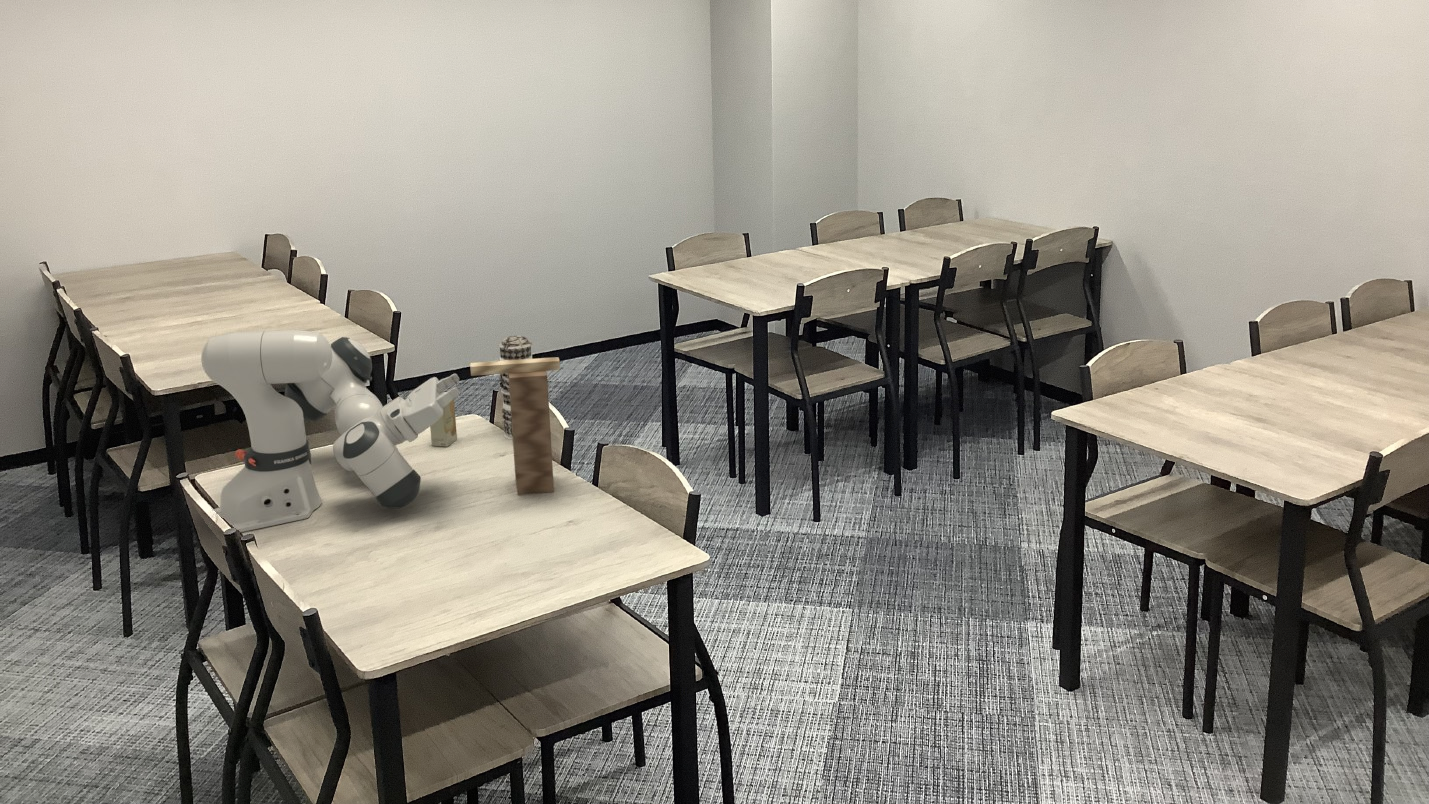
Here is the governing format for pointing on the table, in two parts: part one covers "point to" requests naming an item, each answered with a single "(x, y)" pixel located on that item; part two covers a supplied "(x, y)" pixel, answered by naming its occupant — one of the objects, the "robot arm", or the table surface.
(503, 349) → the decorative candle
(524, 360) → the slat
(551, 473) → the pedestal
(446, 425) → the skincare box
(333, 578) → the table surface
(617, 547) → the table surface
